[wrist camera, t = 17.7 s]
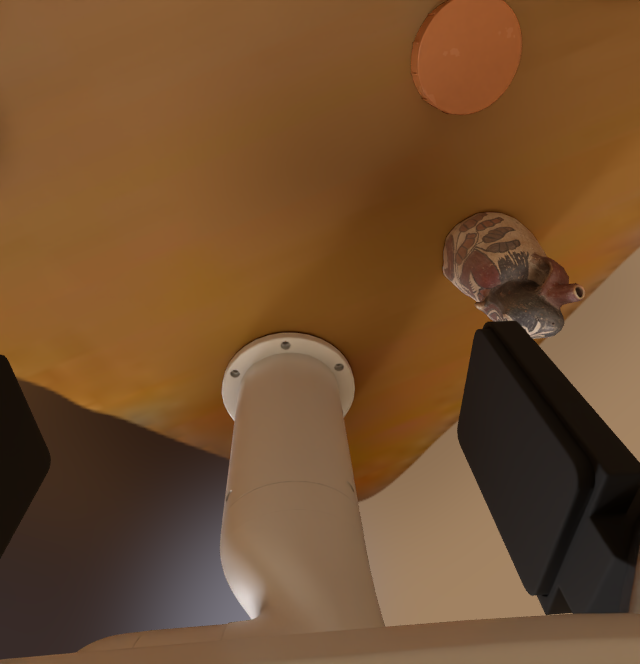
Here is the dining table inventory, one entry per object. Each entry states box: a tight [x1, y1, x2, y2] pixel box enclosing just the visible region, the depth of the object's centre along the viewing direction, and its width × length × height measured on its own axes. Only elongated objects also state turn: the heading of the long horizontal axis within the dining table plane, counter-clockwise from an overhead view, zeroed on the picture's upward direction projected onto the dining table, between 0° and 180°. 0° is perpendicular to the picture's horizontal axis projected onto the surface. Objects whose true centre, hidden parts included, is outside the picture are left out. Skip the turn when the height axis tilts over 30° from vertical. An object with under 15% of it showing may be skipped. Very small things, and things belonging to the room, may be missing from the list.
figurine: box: [442, 212, 585, 339], centre depth 34 cm, size 7×7×12 cm
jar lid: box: [411, 0, 522, 115], centre depth 31 cm, size 7×7×2 cm
